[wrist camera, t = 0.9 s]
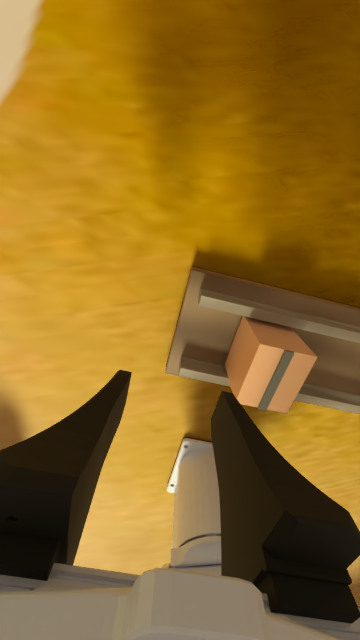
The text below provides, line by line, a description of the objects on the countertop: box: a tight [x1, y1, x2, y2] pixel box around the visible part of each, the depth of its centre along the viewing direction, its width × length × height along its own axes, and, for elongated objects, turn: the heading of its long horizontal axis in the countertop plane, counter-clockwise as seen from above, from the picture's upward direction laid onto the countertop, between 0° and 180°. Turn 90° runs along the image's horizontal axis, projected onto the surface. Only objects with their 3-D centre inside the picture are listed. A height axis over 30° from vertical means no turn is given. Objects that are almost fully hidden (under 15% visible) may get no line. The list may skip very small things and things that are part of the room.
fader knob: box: [225, 316, 317, 414], centre depth 19 cm, size 5×4×5 cm
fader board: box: [165, 267, 360, 414], centre depth 22 cm, size 10×28×3 cm, turn 76°
